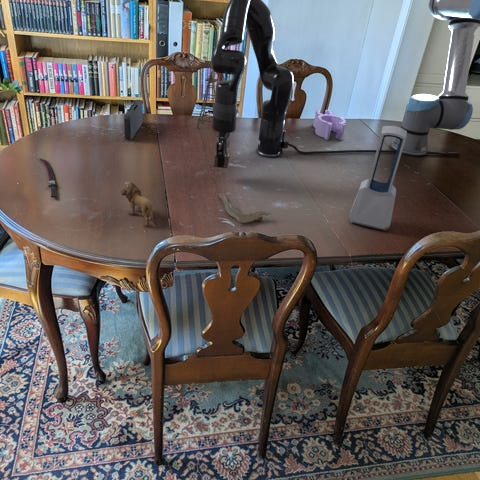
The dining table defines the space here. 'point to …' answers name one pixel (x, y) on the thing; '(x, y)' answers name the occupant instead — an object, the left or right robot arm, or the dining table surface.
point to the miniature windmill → (210, 80)
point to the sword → (52, 181)
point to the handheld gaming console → (133, 119)
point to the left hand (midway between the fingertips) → (221, 164)
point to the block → (226, 160)
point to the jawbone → (239, 215)
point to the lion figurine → (137, 201)
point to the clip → (329, 124)
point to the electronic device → (378, 189)
